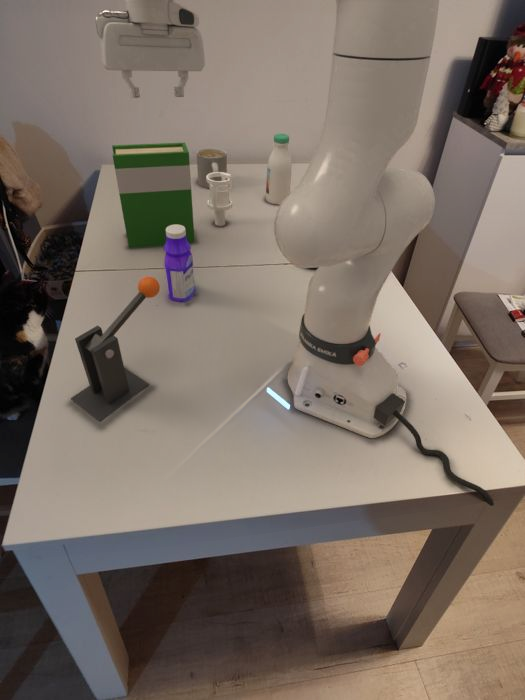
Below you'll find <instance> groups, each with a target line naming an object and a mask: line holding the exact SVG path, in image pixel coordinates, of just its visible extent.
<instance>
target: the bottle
mask: <svg viewBox="0 0 525 700" xmlns="http://www.w3.org/2000/svg"><path fill="white" fill-rule="evenodd" d="M191 248H192V246H191V243H189V242H188V241H187V238H186V231H185V227H184V226H182V225H178V224H175V225H170V226H168V227H167V228H166V244H165V245H163V250H164V253H165V254H164V264H163V265H164V273H165V279H166V287H167V297H168V299H169V300H170V301H173V302H178V303H185V302H188V301H190V300H191V299H192V298H193V296H194V295H195V293H196V284H195V283H196V282H195V271H194V255H193V254H192V251H191Z"/></svg>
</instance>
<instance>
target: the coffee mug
mask: <svg viewBox="0 0 525 700" xmlns="http://www.w3.org/2000/svg"><path fill="white" fill-rule="evenodd" d="M227 157H228V155H227V151H226V150H224V149H222V148H217V147H205V148H200V149H199V150H197V151H196V166H197V167H196V169H197V183H198V185H199V187H202V188H204V189H206V188H207V189H209V186H210V184H209V183H207V181H206V176H207V175H208V174H210V173H213V172H224V173H228V158H227ZM210 179H211V180H213V181H222V177H212V178H210ZM226 180H227V178H226Z"/></svg>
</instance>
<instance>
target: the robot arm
mask: <svg viewBox="0 0 525 700" xmlns="http://www.w3.org/2000/svg"><path fill="white" fill-rule="evenodd" d="M124 3H125V10H110V9H103V10H102V12H98V14H97V15H96V17H95V27H96V28H95V29H96V33H97V35H98V38H99V49H100V50H99V51H100V62H101V64H102V66H103V67H104V68H105V69H106V70H108V71H121V77H122V79H123V81H124V82H125V84H126V85H127V87H128V89H129V96H130V98H131V99H133V98H134V99H137V98H140V97H141V95H140V87H138V86H135V85H134V83H133V82H132V80H131V78H133V72H132V71H137V72H138V71H139V72H143V71H144V72H177V77H178V78H180V79H179V82H178V84H177V86H173V88H174V89H173V90H174V97H176V98H184V97H185V87H186V84H187V83H188V80H189V72H202V71H203V69H204V68H205V65H206V64H205V63H206V62H205V60H206V59H205V48H204V47H205V46H204V42H203V41H204V40H203V36H202V33H201V31H200V30H199V29H198V26H199V24H200V16H199V14H198V13H197V12H196V11H193V10H191V9H189V8H187V7H185V6H183V5H181V4H179V3H177V2H175V1H174V0H124ZM335 4H336V12H335V13H336V14H335V16H336V18H335V27H334V34H333V43H332V53H331V54H332V55H331V65H330V75H329V86H328V93H327V101H326V109H325V116H324V122H323V127H322V131H321V134H320V137H319V140H318V143H317V146H316V148H315V151H314V153H313V155H312V158H311V160H310V162H309V165H308V167H307V169H306V170H305V171H304V174H303V176H302V177H301V178H300V180H299V182H298V183H297V184H296V186H295V187H294V188H293V190H292V191H290V194H289V195H288V196H287V197H286V198H285V199H284V200H283V201H282V203H281V204H279V206H278V208H277V210H276V214H275V217H274V225H273V226H274V227H273V231H274V237H275V242H276V246H277V247H278V249H279V251H280V253H281V254H282V256H283V257H284V258H285V259H286V260H287V261H288V262H289V263H291V265H293V266H294V267H296V268H299V269H307V268H317V267H319V268H318V269H316V270H315V271H314V272H313V274H312V276H311V278H310V279H309V281H308V286H307V294H306V302H305V308H304V313H303V314H302V316H301V319H300V326H299V333H298V338H299V343H298V348H297V351H296V354H295V357H294V360H293V362H292V364H291V365H290V367H289V369H288V372H287V376H286V377H287V384H288V386H289V388H290V391H291V393H292V395H293V405H294V408H295V409H296V410H298V411H300V412H302V413H305V414H307V415H311V416H313V417H316V418H318V419H320V420H323V421H325V422H328V423H331V424H333V425H336V426H338V427H340V428H343V429H345V430H347V431H351V432H353V433H356V434H358V435H361V436H363V437H366V438H369V439H376V438H379V437H381V436H384V435H385V434H387V433H388V432H389V431H391V430H392V429H393V428H394V427H395V426H396V425H397V423H398V422H400V423H401V424H402V425H403V426H404V427H406V429H407V430H408V431H409V433H411V435H412V436H413V438H414V440H415V445H416V447H417V449H418V451H419V452H420V453H422V454H423V455H425V456H437V457H439V458H441V460H442V462H443V470H444V472H445V474H446V475H447V476H448V477H449V478H450V479H451V480H452V481H454V482H455V483H456V484H458V485H460V486H462V487H465V488H468V489H470V490H472V491H474V492H476V493H478V494H479V495H481V497H483V499H484V500H485V502H486V504H488V505H489V506H491V507H493V506H494V504H495V502H494V500H493V498H492V497H491V495H490V494H489V493H488V492H487V490H485V489H484V488H483V487H481V486H479V485H477V484H476V483H473V482H470V481H468V480H465V479H463V478H462V477H460V476H458V475H457V474H455V473H454V472H453V471H452V469H451V464H450V459H449V457H448V455H447V454H446V453H445V452H443V451H442V450H440V449H439V450H438V449H428V448H426V447H425V446H424V445H423V443H422V437H421V436H420V434H419V432H418V431H417V429H416V428H415V426H414V425H413V424H411V423H410V422H409V420H408V419H406V418H405V417H404V416H403V414H404V411H405V408H406V404H407V392H406V389H404V388H403V387H402V386H401V385H399V377H398V373H397V371H396V369H395V367H393V366H392V364H391V363H390V362H389V361H388V360H387V358H385V356H384V354H383V353H382V352H381V351H379V350H378V348H377V347H376V345H377V344H378V342H379V341H380V338H381V335H382V333H381V332H379V333H378V334H377V335H376V336H375V338H374V335H373V334H372V329H371V325H370V323H371V321H372V317H373V314H374V310H375V306H376V304H377V301H378V297H379V295H380V293H381V290H382V288H383V286H384V285H385V282H386V280H387V279H388V277H389V275H390V274H391V273H392V271H393V270H394V268H395V266H396V264H397V262H398V261H399V259H400V258H401V256H402V255H403V253H404V252H405V250H406V249H407V248H408V246H409V245H410V244H411V243H412V241H413V240H414V239H415V238H416V237H417V236H418V235H419V234H420V233H421V232H422V231H423V230H424V229H425V228H426V227H427V226H428V225H429V224H430V222H431V221H432V218H433V216H434V213H435V207H436V199H435V198H436V197H435V193H434V188H433V187H432V184H431V183H430V181H429V179H428V178H427V177H426V176H425V175H424V174H423V173H421V172H420V171H418V170H415V169H405V168H392V167H391V168H387V167H388V165H389V164H390V163H391V161H392V160H393V157H394V156H395V155H396V154H397V153H398V151H399V150H400V149H401V148H402V147H403V146H405V144H406V143H407V142H408V141H409V140H410V138H411V137H412V136H413V134H414V132H415V130H416V127H417V124H418V119H419V114H420V109H421V105H422V101H423V95H424V90H425V86H426V81H427V76H428V72H429V67H430V62H431V58H432V57H431V56H432V51H433V47H434V41H435V37H436V36H435V35H436V28H437V22H438V15H439V5H440V0H335ZM266 393H268V394H269V395H270V396H271V397H272V398H274V399H275V400H276V401H277V402H278V403H280V404H281V405H282V406H283V407H284V408H286V409H287V410H290V407H291V405H290V403H288V402H287V401H286V400H285V399H284V398H282V397H281V396H280V395H278V394H277V393H276V392H275V391H273V390H272V389H271V388H270V387H267V388H266Z"/></svg>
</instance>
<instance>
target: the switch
mask: <svg viewBox="0 0 525 700" xmlns="http://www.w3.org/2000/svg"><path fill="white" fill-rule="evenodd" d="M160 288H161V287H160V282H159V280H157V279H156V278H155V277H153V276H144V277H142V278H141V279H140V280H139V282H138V283H137V289H138V293H137V294H136V295H135V296H134V297H133V298H132V299H131V301H130V302H129V303H128V304H127V306H126V307H125V308H124V309H123V310H122V312H120V314H119V315H118V316H117V317H116V318H115V320H114V321H113V322H112V323H111V324H110V325H109V327H108V328H107V329H106V330H105V331H104V332H103V335H102V336H101V337H100V336H99V335H97V334H95V335H94V337H93V338H92V339H91V340H90V341H89V342H88V344H87V345H86V346H85V348H86V349H87V350H89V351H90V352H91V349H92V348H94V347H95V346H97V345H99V344H100V343H102V342H104V341H105V340H107V339H108V338H110V337H112V336H115V335H116V334H117V332H118V331H119V330H120V329H121V328H122V326H123V325H125V323H126V322H127V320H129V318H130V317H131V316H132V315H133V314H134V312H135V311H136V310H137V309H138V308H139V306H141V304H142V303H143V302H144V300H145V299H146V298H147V299H151V298H154V297H156V296H157V295H158V294H159V293H160ZM91 353H92V352H91Z"/></svg>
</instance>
